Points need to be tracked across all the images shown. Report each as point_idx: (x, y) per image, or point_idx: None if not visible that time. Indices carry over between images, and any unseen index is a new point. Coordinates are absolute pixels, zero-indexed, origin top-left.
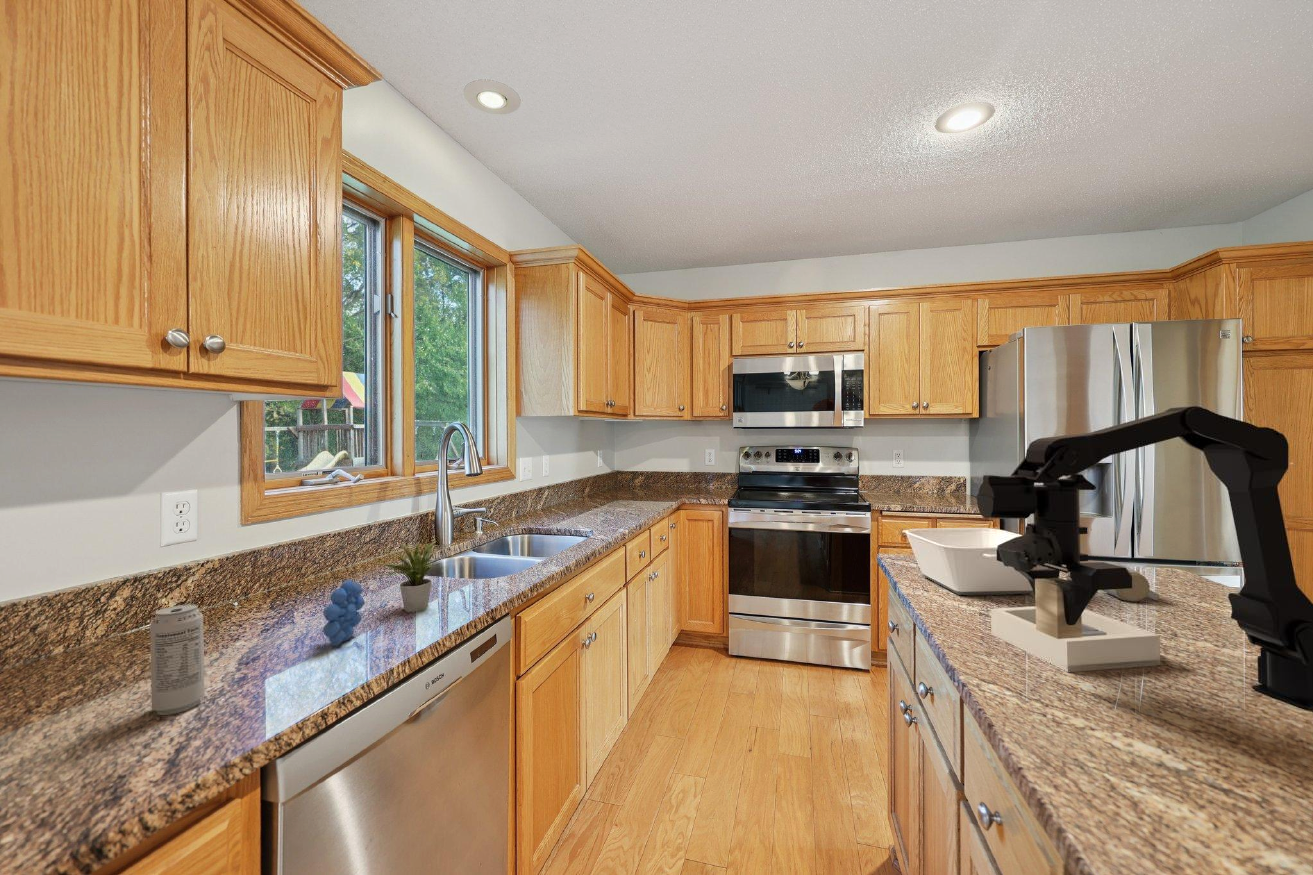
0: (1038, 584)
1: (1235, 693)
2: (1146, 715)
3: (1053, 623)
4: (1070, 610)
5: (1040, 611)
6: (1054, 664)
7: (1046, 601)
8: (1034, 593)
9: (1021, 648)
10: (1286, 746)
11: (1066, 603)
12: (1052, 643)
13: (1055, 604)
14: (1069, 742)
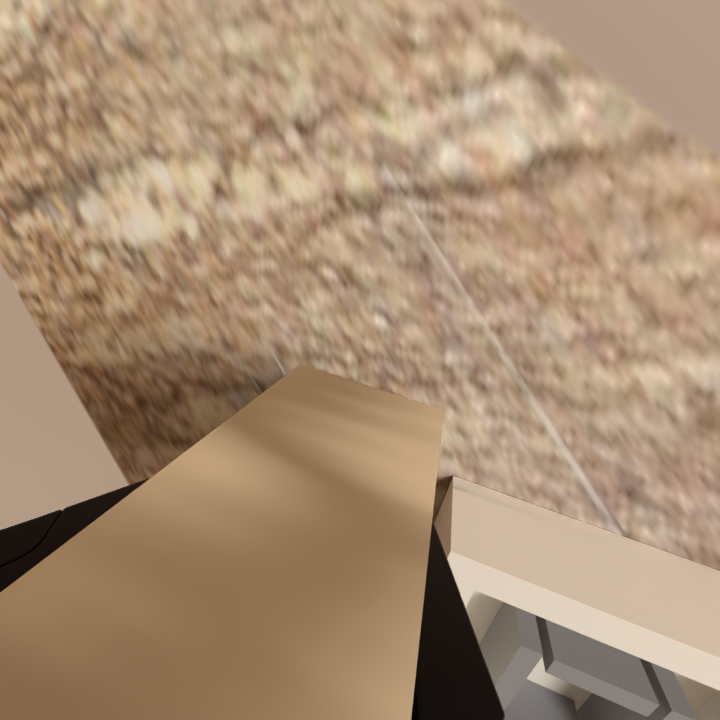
0: None
1: None
2: (236, 382)
3: (287, 403)
4: (121, 492)
5: (383, 474)
6: (501, 495)
7: (265, 530)
8: (498, 710)
9: (646, 546)
10: (124, 454)
11: (79, 528)
12: (516, 550)
13: (160, 488)
14: (180, 45)
